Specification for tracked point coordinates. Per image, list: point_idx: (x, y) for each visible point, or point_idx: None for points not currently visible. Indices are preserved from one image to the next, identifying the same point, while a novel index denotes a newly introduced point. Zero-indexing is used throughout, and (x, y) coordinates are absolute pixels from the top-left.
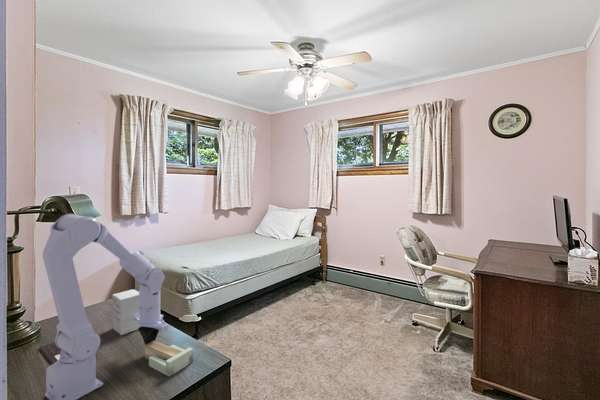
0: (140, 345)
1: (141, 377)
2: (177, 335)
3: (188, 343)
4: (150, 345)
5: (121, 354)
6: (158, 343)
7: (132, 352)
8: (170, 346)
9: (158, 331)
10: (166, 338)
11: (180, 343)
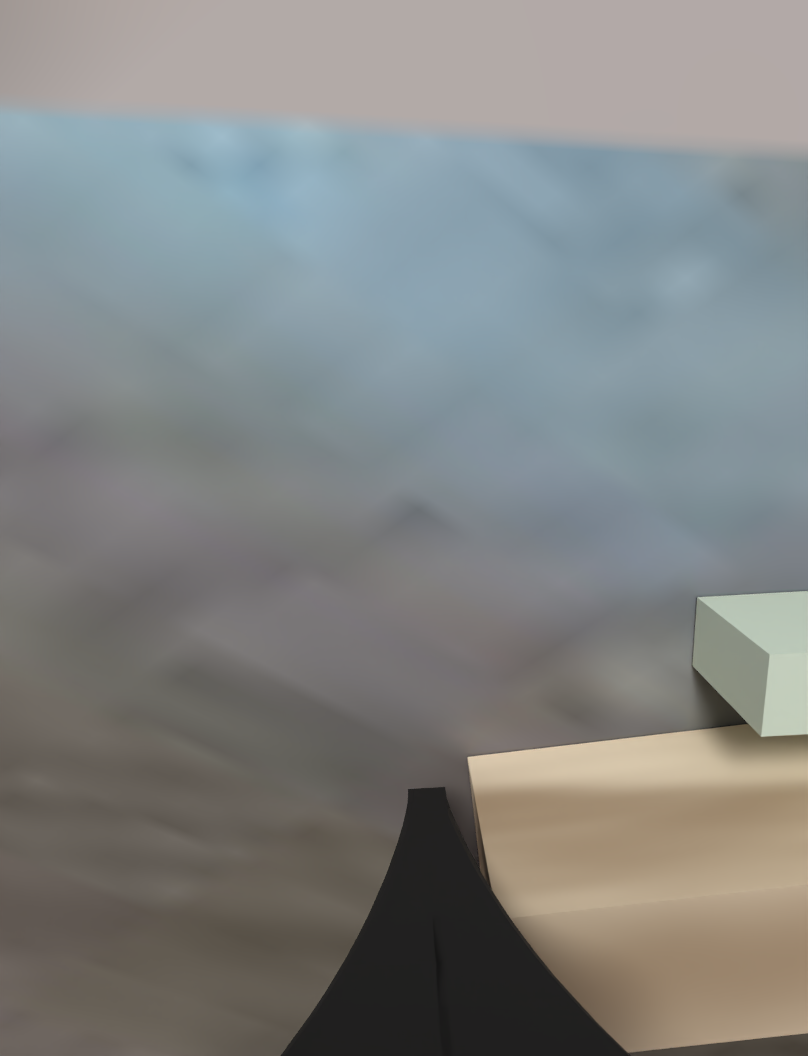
0: (126, 761)
1: (783, 1041)
2: (288, 216)
3: (708, 277)
4: (612, 1025)
5: (166, 978)
6: (680, 926)
7: (225, 894)
8: (783, 718)
9: (591, 1028)
10: (230, 415)
11: (583, 367)
